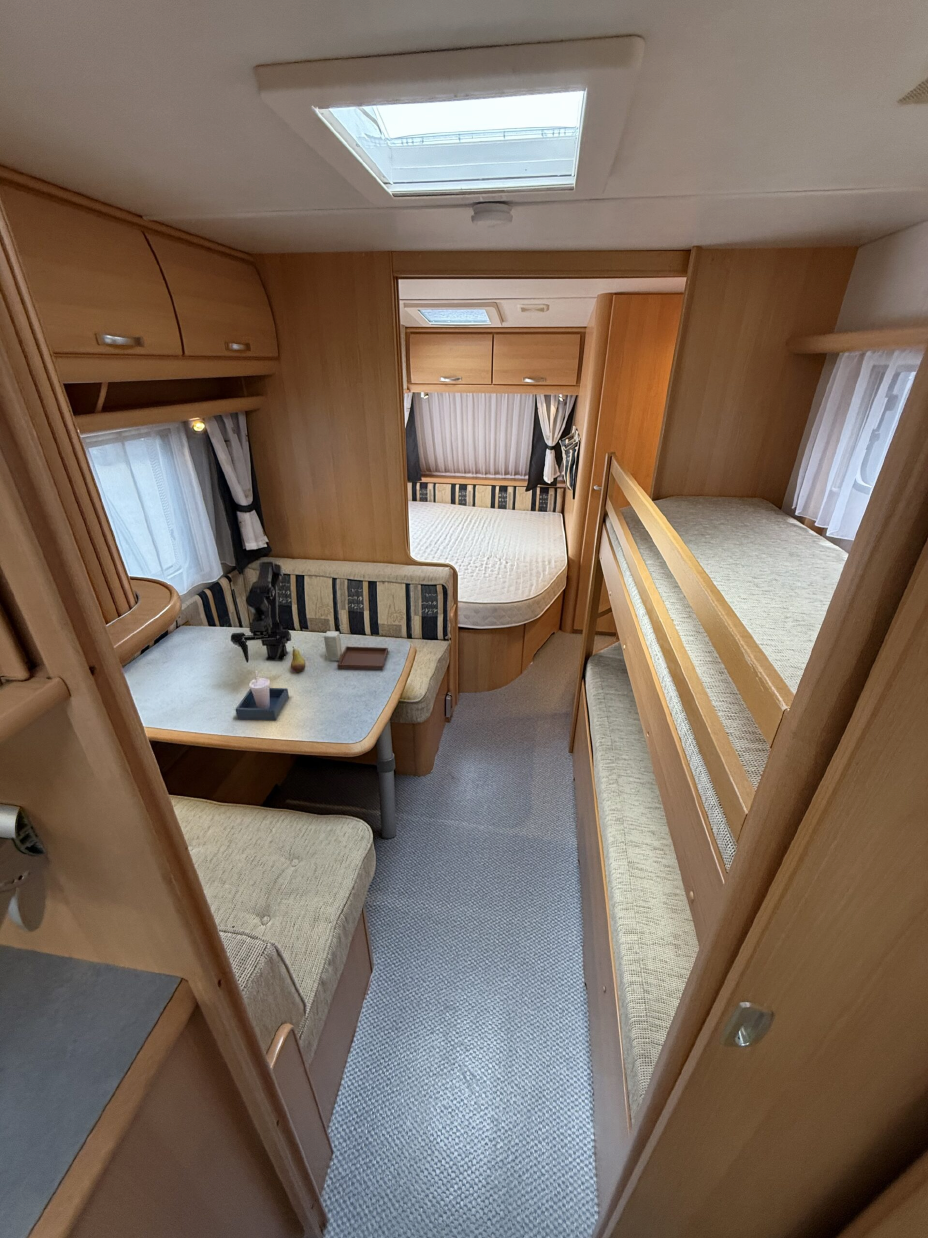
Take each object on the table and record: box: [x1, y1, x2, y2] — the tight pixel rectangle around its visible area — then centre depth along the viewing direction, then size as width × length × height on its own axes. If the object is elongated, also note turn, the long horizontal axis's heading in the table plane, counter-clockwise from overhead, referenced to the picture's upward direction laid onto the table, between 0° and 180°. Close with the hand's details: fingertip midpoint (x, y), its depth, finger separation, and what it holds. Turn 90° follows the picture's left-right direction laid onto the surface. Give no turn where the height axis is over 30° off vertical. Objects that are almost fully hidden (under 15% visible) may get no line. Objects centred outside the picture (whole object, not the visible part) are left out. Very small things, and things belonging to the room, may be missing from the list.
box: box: [323, 630, 343, 662], centre depth 194 cm, size 5×4×11 cm
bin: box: [234, 687, 290, 721], centre depth 165 cm, size 13×13×4 cm
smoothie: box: [248, 670, 271, 709], centre depth 162 cm, size 6×6×14 cm
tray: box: [337, 646, 389, 671], centre depth 195 cm, size 17×14×2 cm
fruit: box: [290, 646, 306, 673], centre depth 185 cm, size 6×6×12 cm
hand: (261, 661), depth 167 cm, fingers open, 9 cm apart
